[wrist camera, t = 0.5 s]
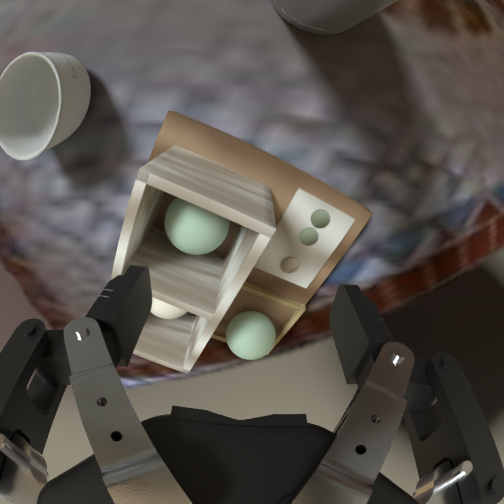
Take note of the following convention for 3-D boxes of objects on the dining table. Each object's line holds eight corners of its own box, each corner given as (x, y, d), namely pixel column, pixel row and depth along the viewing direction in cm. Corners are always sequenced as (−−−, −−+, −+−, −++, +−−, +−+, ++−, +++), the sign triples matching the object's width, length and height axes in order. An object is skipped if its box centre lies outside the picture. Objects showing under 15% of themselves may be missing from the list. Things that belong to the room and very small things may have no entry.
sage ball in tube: (186, 171, 26) (168, 191, 21) (242, 196, 27) (238, 222, 22) (166, 222, 29) (148, 251, 24) (217, 244, 30) (210, 277, 25)
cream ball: (158, 246, 30) (140, 277, 25) (206, 267, 32) (197, 301, 27) (145, 284, 33) (130, 316, 28) (189, 302, 34) (180, 337, 29)
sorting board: (172, 110, 24) (127, 120, 15) (367, 208, 29) (409, 258, 20) (116, 290, 36) (86, 345, 27) (263, 346, 41) (264, 407, 32)
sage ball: (239, 294, 34) (237, 330, 28) (283, 310, 35) (286, 346, 30) (220, 325, 36) (216, 360, 31) (261, 338, 38) (261, 373, 33)
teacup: (117, 62, 21) (74, 57, 14) (88, 154, 26) (45, 175, 19) (34, 48, 18) (-10, 49, 11) (14, 127, 23) (-28, 143, 16)
